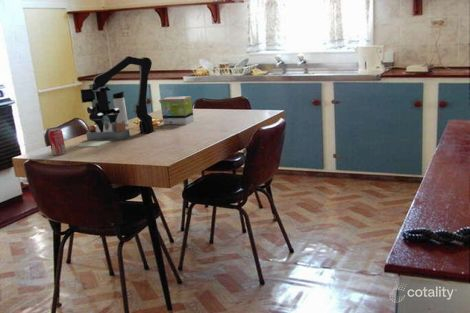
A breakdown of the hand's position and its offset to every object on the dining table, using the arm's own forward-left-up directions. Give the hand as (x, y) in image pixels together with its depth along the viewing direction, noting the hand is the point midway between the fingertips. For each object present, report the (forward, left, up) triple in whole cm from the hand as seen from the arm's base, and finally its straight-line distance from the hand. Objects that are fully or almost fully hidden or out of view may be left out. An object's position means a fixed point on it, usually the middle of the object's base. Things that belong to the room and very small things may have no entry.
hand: (107, 130), depth 271 cm
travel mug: (+13, -32, -5) cm, 35 cm away
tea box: (-21, -38, -5) cm, 44 cm away
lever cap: (0, 0, 0) cm, 0 cm away
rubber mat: (-1, +13, -4) cm, 14 cm away
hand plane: (0, 0, -4) cm, 4 cm away
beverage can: (+5, +32, -5) cm, 33 cm away
